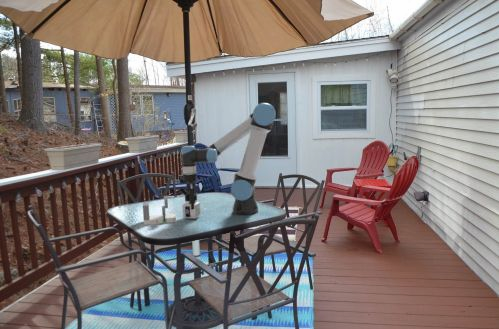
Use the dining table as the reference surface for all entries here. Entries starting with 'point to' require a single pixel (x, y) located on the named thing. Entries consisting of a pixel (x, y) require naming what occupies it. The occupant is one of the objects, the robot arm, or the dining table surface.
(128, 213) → the dining table surface
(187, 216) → the container
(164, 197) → the gauge plate
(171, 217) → the gauge base
